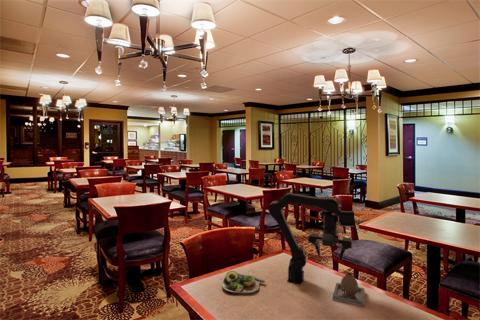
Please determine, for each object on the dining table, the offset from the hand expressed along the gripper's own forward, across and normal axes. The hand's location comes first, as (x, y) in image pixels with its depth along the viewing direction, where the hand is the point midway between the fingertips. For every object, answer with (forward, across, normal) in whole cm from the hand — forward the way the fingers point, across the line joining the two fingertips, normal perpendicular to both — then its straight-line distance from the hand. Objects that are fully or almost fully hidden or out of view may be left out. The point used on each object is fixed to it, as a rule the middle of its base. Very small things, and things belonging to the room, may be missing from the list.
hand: (329, 258), depth 129 cm
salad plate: (+13, -37, -18) cm, 43 cm away
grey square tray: (+12, +9, -7) cm, 17 cm away
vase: (+11, +9, -7) cm, 16 cm away
